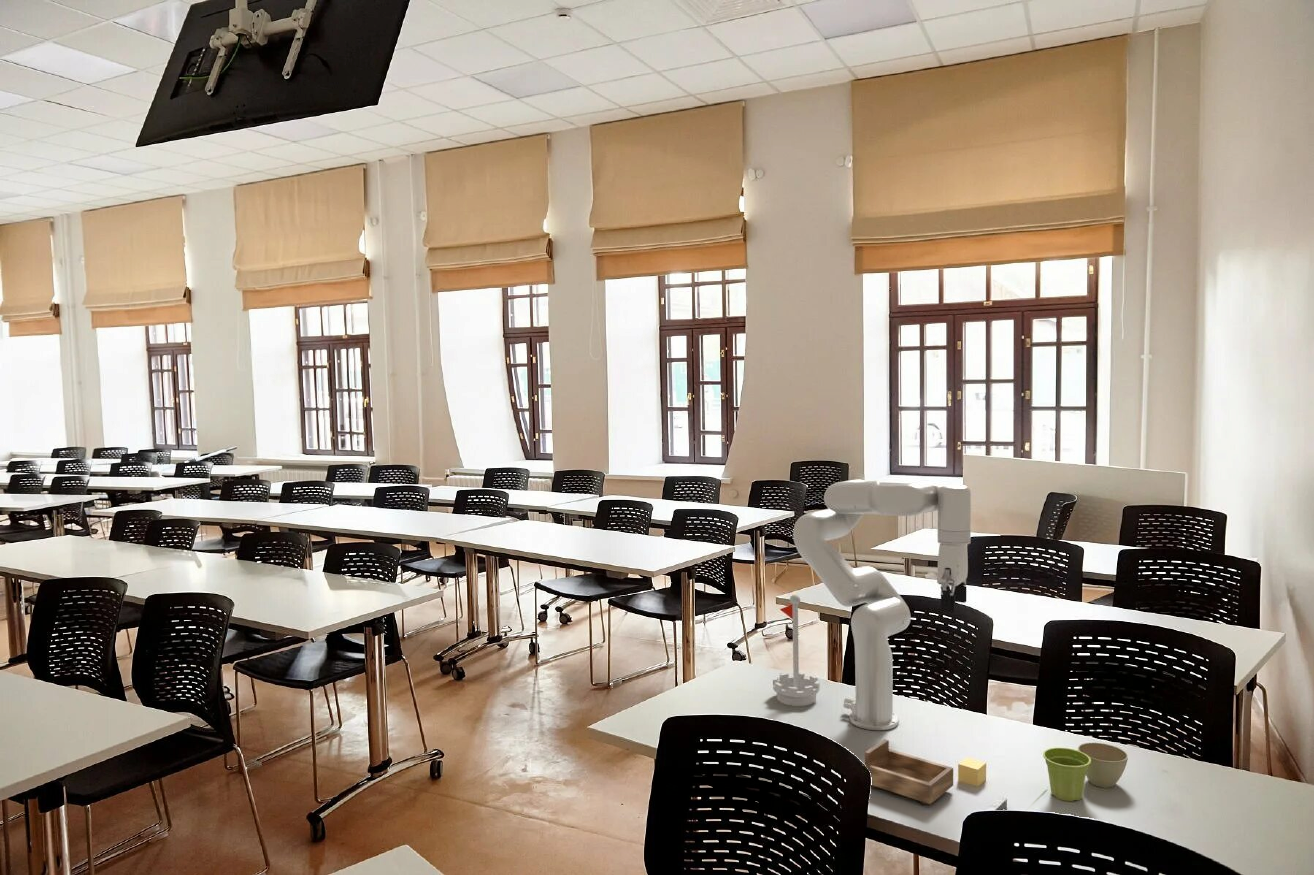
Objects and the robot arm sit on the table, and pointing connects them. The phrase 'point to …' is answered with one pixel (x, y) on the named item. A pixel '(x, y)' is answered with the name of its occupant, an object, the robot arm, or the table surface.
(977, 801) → the table surface
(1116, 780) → the flower pot
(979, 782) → the block
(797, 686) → the flag stand
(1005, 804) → the rail
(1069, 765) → the plant pot
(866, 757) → the wooden crate
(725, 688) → the table surface
